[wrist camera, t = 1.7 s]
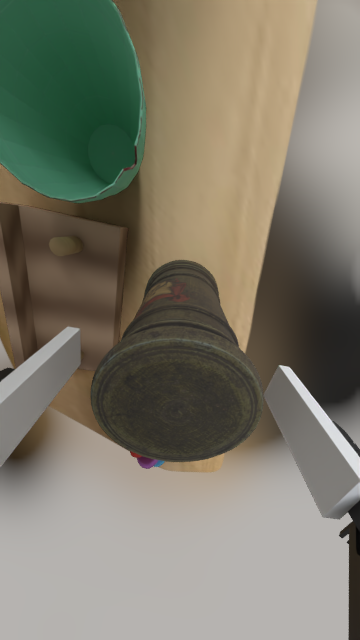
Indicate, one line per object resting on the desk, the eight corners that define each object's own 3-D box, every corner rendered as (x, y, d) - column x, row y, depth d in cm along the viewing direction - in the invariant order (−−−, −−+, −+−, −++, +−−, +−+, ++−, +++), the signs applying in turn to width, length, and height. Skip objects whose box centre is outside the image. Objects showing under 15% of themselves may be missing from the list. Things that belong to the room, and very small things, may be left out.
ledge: (28, 205, 21) (-25, 198, 16) (128, 227, 22) (110, 227, 17) (44, 348, 29) (12, 375, 24) (117, 360, 30) (102, 390, 25)
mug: (162, 213, 21) (147, 203, 12) (74, 211, 22) (-5, 200, 12) (159, 0, 15) (124, -335, 6) (34, -2, 15) (-182, -335, 6)
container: (227, 273, 24) (317, 367, 8) (200, 333, 28) (224, 481, 12) (157, 248, 23) (95, 296, 7) (139, 313, 27) (70, 448, 10)
